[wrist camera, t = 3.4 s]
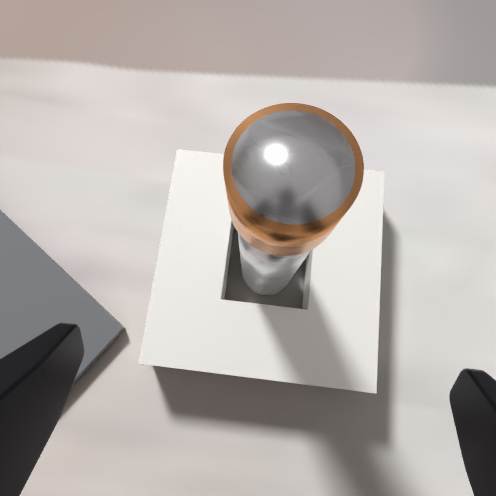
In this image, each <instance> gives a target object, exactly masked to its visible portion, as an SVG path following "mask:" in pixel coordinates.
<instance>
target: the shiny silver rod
mask: <svg viewBox="0 0 496 496" xmlns="http://www.w3.org/2000/svg"><path fill="white" fill-rule="evenodd" d="M223 174H224V181H225V188H226V194H227V201H228V207H229V213H230V217H231V220H232V222H233V224H234V226H235V228H236V230H237V231H238V239H239V249H240V259H241V268H242V276H243V279H244V281H245V283H246V285H247V286H248V287H249V288H250V289H251V290H253V291H254V292H256V293H258V294H262V295H272V294H276V293H278V292H280V291H281V290H283V289H284V288H285V287H286V286H287V284H288V283H289V281H290V280H291V278H292V277H293V276H294V274H295V273H296V271H297V270H298V268H299V267H300V265H301V264H302V262H303V261H304V259H305V258H306V257H307V255H308V254H309V252H310V251H311V250H312V249H314V248H316V247H317V246H318V245H320V244H321V243H322V242H323V241H324V240H326V238H327V237H328V236H329V235H330V234H331V232H332V231H333V230H334V228H335V227H336V226H337V224H338V223H339V222H340V220H341V219H342V218H343V216H344V215H345V214H346V213H347V211H348V210H349V209H350V207H351V206H352V205H353V203H354V201H355V200H356V198H357V196H358V194H359V192H360V189H361V186H362V182H363V175H364V163H363V157H362V153H361V150H360V147H359V145H358V143H357V141H356V139H355V137H354V136H353V134H352V133H351V131H350V130H349V129H348V128H347V127H346V126H345V125H344V124H343V123H342V122H341V121H340V120H339V119H337V118H336V117H335V116H333V115H332V114H330V113H328V112H326V111H324V110H322V109H320V108H317V107H314V106H310V105H306V104H299V103H285V104H278V105H273V106H269V107H266V108H264V109H261V110H259V111H257V112H255V113H254V114H252V115H250V116H249V117H248V118H246V119H245V120H244V121H243V122H242V123H241V124H240V125H239V126H238V127H237V128H236V130H235V131H234V132H233V134H232V135H231V137H230V139H229V141H228V143H227V146H226V149H225V153H224V158H223Z"/></svg>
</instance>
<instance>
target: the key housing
mask: <svg viewBox="0 0 496 496" xmlns="http://www.w3.org/2000/svg"><path fill="white" fill-rule="evenodd" d="M223 158H224V154H217V153H208V152H198V151H189V150H180V149H177V152H176V157H175V163H174V168H173V174H172V179H171V185H170V190H169V196H168V201H167V207H166V213H165V218H164V224H163V229H162V235H161V240H160V246H159V251H158V257H157V262H156V268H155V273H154V279H153V284H152V290H151V295H150V301H149V306H148V312H147V317H146V323H145V328H144V334H143V339H142V345H141V350H140V356H139V361H138V364H146V365H154V366H162V367H170V368H178V369H186V370H193V371H201V372H209V373H217V374H225V375H233V376H241V377H249V378H257V379H265V380H273V381H281V382H289V383H296V384H304V385H312V386H320V387H328V388H336V389H344V390H352V391H360V392H368V393H376V394H377V366H378V339H379V311H380V283H381V255H382V228H383V200H384V172H383V171H374V170H365V169H364V175H363V182H362V186H361V189H360V192H359V194H358V196H357V198H356V200H355V201H354V203H353V205H352V206H351V207H350V209H349V210H348V211H347V213H346V214H345V215H344V216H343V218H342V219H341V220H340V222H339V223H338V224H337V226H336V227H335V228H334V230H333V231H332V232H331V234H330V235H329V236H328V237H327V238H326V240H324V241H323V242H322V243H321V244H320V245H318V246H317V247H316V248H314V249H312V250H311V251H310V252H309V254H308V255H307V257H306V266H305V278H304V290H303V302H302V309H298V308H290V307H281V306H273V305H265V304H256V303H248V302H240V301H231V300H224V298H225V291H226V283H227V276H228V268H229V261H230V254H231V246H232V239H233V231H234V230H236V228H235V226H234V224H233V222H232V220H231V217H230V213H229V207H228V201H227V194H226V188H225V181H224V174H223Z"/></svg>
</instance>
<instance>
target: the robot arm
mask: <svg viewBox="0 0 496 496" xmlns="http://www.w3.org/2000/svg"><path fill="white" fill-rule="evenodd" d="M83 357H84V343H83V339H82V334H81V329H80V326H79V325H78V324H75V323H67V322H61V323H58V324H56V325H55V326H53V327H51V328H50V329H48V330H46V331H45V332H43V333H42V334H40V335H38V336H37V337H35V338H33V339H32V340H30V341H29V342H27V343H25V344H24V345H22V346H20V347H19V348H17V349H16V350H14V351H12V352H11V353H9V354H7V355H6V356H4V357H3V358H1V359H0V496H19V495H20V494H21V492H22V490H23V488H24V486H25V484H26V482H27V480H28V478H29V476H30V474H31V472H32V470H33V468H34V467H35V465H36V463H37V461H38V459H39V457H40V455H41V453H42V451H43V449H44V447H45V445H46V443H47V442H48V440H49V438H50V436H51V434H52V432H53V430H54V428H55V426H56V424H57V422H58V420H59V418H60V415H61V413H62V411H63V408H64V406H65V403H66V400H67V398H68V395H69V393H70V390H71V388H72V385H73V383H74V380H75V378H76V375H77V372H78V370H79V367H80V365H81V362H82V360H83ZM450 404H451V409H452V413H453V418H454V422H455V426H456V431H457V435H458V440H459V444H460V448H461V453H462V457H463V461H464V465H465V469H466V472H467V475H468V478H469V481H470V484H471V487H472V490H473V493H474V496H496V380H494V379H493V378H492V377H491V376H490V375H488V374H487V373H486V372H484V371H482V370H476V369H468V368H466V369H463V370H462V371H461V372H460V374H459V376H458V378H457V380H456V381H455V383H454V385H453V387H452V389H451V391H450Z"/></svg>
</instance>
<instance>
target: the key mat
mask: <svg viewBox="0 0 496 496" xmlns="http://www.w3.org/2000/svg"><path fill="white" fill-rule="evenodd" d="M61 322H67V323H75V324H78V325H79V326H80V329H81V334H82V339H83V343H84V357H83V360H82V362H81V365H80V367H79V370H78V372H77V375H76V378H75V380H74V383H73V385H74V384H75V383H76V382H77V380H78V379H79V378H80V377H81V376H82V375H83V374H84V373H85V372H86V371H87V370H88V368H89V367H90V366H91V365H92V364H93V363H94V362H95V361H96V360H97V359H98V358H99V357H100V355H101V354H102V353H103V352H104V351H105V350H106V349H107V348H108V347H109V346H110V345H111V344H112V342H113V341H114V340H115V339H116V338H117V337H118V336H119V335H120V334H121V333H122V332H123V330H124V329H125V328H124V327H123V326H122V325H121V324H120V323H119V322H118V321H117V320H116V319H115V318H114V317H113V316H112V315H111V314H109V313H108V312H107V311H106V310H105V309H104V308H103V307H102V306H101V305H100V304H99V303H98V302H97V301H96V300H95V299H94V298H93V297H92V296H90V295H89V294H88V293H87V292H86V291H85V290H84V289H83V288H82V287H81V286H80V285H79V284H78V283H77V282H76V281H75V280H74V279H73V278H71V277H70V276H69V275H68V274H67V273H66V272H65V271H64V270H63V269H62V268H61V267H60V266H59V265H58V264H57V263H56V262H55V261H54V260H52V259H51V258H50V257H49V256H48V255H47V254H46V253H45V252H44V251H43V250H42V249H41V248H40V247H39V246H38V245H37V244H36V243H35V242H33V241H32V240H31V239H30V238H29V237H28V236H27V235H26V234H25V233H24V232H23V231H22V230H21V229H20V228H19V227H18V226H17V225H16V224H14V223H13V222H12V221H11V220H10V219H9V218H8V217H7V216H6V215H5V214H4V213H3V212H2V211H1V210H0V359H1V358H3V357H4V356H6V355H7V354H9V353H11V352H12V351H14V350H16V349H17V348H19V347H20V346H22V345H24V344H25V343H27V342H29V341H30V340H32V339H33V338H35V337H37V336H38V335H40V334H42V333H43V332H45V331H46V330H48V329H50V328H51V327H53V326H55V325H56V324H58V323H61ZM73 385H72V386H73Z"/></svg>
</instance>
